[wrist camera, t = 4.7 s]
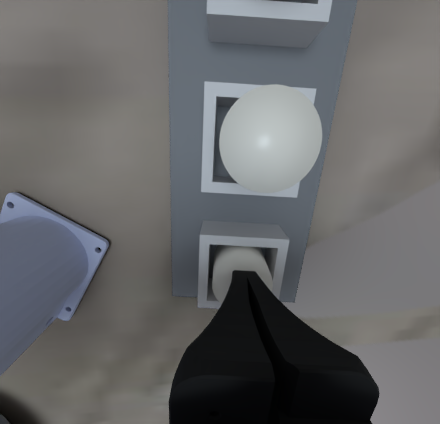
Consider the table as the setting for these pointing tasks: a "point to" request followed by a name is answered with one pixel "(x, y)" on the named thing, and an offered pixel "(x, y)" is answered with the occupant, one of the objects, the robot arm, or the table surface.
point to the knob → (237, 267)
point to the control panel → (215, 114)
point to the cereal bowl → (3, 420)
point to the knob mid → (270, 138)
